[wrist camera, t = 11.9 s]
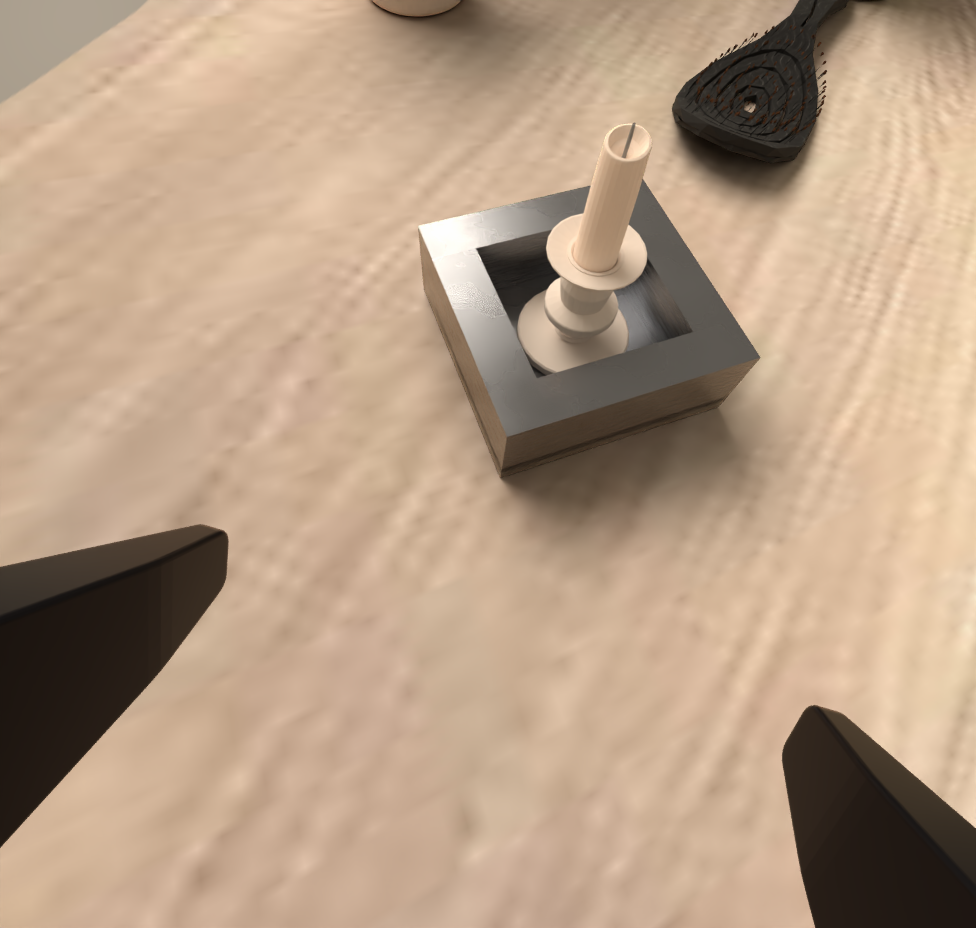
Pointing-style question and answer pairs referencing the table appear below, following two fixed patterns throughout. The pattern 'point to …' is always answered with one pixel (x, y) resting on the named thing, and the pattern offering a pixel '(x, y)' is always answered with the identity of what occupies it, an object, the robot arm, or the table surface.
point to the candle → (591, 265)
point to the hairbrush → (761, 89)
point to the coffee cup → (416, 6)
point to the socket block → (596, 385)
